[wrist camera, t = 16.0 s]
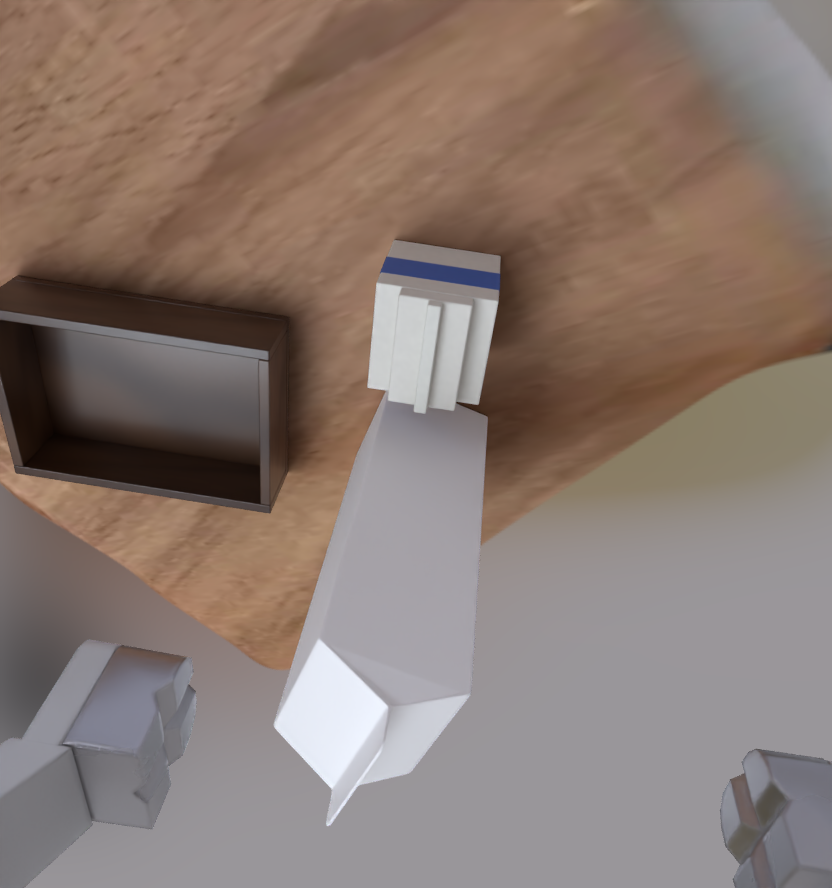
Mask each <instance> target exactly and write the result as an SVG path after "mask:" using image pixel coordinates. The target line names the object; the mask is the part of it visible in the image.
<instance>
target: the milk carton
mask: <svg viewBox="0 0 832 888" xmlns="http://www.w3.org/2000/svg"><path fill="white" fill-rule="evenodd" d="M500 262H501V256H498V255H491V254H485V253H478V252H472V251H465V250H458V249H452V248H445V247H439V246H432V245H425V244H419V243H412V242H406V241H399V240H394V241H393V243H392V246H391V248H390V251H389V253H388V256H387V257H386V259H385V262H384V264H383V267H382V269H381V272H380V276H379V278H378V281H377V284H376V295H375V306H374V317H373V329H372V340H371V351H370V363H369V374H368V385H367V387H368V388H373V389H379V390H386V391H388V401H393V402H399V403H405V404H412V405H414V409H413V411H414V412H417V413H423V414H425V413H426V411H427V407H431V408H437V409H444V410H450V411H454V410H455V407H456V402H462V403H469V404H475V405H478V404H479V401H480V396H481V391H482V386H483V380H484V375H485V370H486V365H487V360H488V355H489V349H490V344H491V339H492V334H493V329H494V324H495V318H496V313H497V308H498V303H499V292H500Z"/></svg>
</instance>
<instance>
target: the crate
mask: <svg viewBox="0 0 832 888" xmlns="http://www.w3.org/2000/svg"><path fill="white" fill-rule="evenodd" d="M288 396H289V317H285V316H279V315H272V314H266V313H259V312H252V311H246V310H239V309H232V308H226V307H219V306H212V305H206V304H199V303H192V302H186V301H179V300H172V299H166V298H159V297H153V296H146V295H139V294H133V293H126V292H119V291H113V290H106V289H99V288H93V287H86V286H79V285H73V284H66V283H59V282H53V281H46V280H40V279H33V278H26V277H20V276H16V277H14V278H13V279H12V280H10V281H8V282H7V283H6V284H4V285H3V286H1V287H0V414H1V418H2V421H3V425H4V429H5V433H6V437H7V441H8V445H9V448H10V452H11V456H12V460H13V464H14V468H15V472H16V473H17V474H24V475H30V476H36V477H43V478H49V479H55V480H62V481H68V482H74V483H81V484H87V485H93V486H100V487H106V488H112V489H119V490H125V491H131V492H138V493H144V494H150V495H157V496H163V497H169V498H176V499H182V500H188V501H195V502H201V503H207V504H214V505H220V506H226V507H232V508H239V509H245V510H251V511H258V512H264V513H271V511H272V508H273V506H274V504H275V501H276V499H277V497H278V494H279V492H280V489H281V487H282V485H283V482H284V480H285V478H286V475H287V473H288Z"/></svg>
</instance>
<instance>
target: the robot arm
mask: <svg viewBox="0 0 832 888" xmlns="http://www.w3.org/2000/svg"><path fill="white" fill-rule="evenodd" d="M193 672H194V671H193V665H192V659H191V658H190V657H184V656H179V655H174V654H168V653H163V652H157V651H151V650H146V649H141V648H135V647H129V646H124V645H120V644H114V643H108V642H102V641H95V640H89V639H88V640H86V641H85V642H84V643H83V644H82V645H81V646H80V647H79V648H78V649H77V650H76V652H75V653H74V655H73V657H72V658H71V660H70V662H69V663H68V665H67V666H66V668H65V670H64V671H63V673H62V674H61V676H60V678H59V679H58V681H57V682H56V684H55V686H54V687H53V689H52V690H51V692H50V694H49V695H48V697H47V698H46V700H45V702H44V703H43V705H42V707H41V708H40V710H39V711H38V713H37V715H36V716H35V718H34V719H33V721H32V723H31V724H30V726H29V728H28V729H27V731H26V732H25V734H24V736H23V737H22V738H15V737H11V738H9V739H8V740H6V741H5V742H3V743H2V744H0V888H24V887H25V886H27V885H28V884H29V883H30V882H31V881H32V880H33V879H34V878H35V877H36V876H37V875H39V874H40V873H41V872H42V871H43V870H44V869H45V868H46V867H47V866H48V865H50V864H51V863H52V862H53V861H54V860H55V859H56V858H57V857H58V856H59V855H60V854H62V853H63V852H64V851H65V850H66V849H67V848H68V847H69V846H70V845H71V844H73V843H74V842H75V841H76V840H77V839H78V838H79V837H80V836H81V835H82V834H83V833H85V831H87V830H88V829H89V828H90V827H91V826H92V824H93V823H92V821H96V822H103V823H110V824H118V825H124V826H132V827H139V828H146V829H153V827H154V824H155V822H156V819H157V817H158V815H159V812H160V810H161V807H162V805H163V802H164V800H165V798H166V795H167V793H168V790H169V788H170V785H171V781H170V774H169V767H168V766H170V765H171V764H172V763H173V762H175V761H176V760H177V759H179V758H180V757H181V756H182V755H183V753H184V751H185V748H186V746H187V743H188V741H189V738H190V735H191V731H192V727H193V723H194V719H195V713H196V691H195V690H194V689H193V688H192V687H191V686H190V685H189V682H190V679H191V677H192V674H193ZM742 765H743V768H744V774H742V775H739V776H737V777H735V778H733V779H730V781H729V783H728V785H727V787H726V788H725V790H724V792H723V796H722V803H721V809H720V815H721V828H722V832H723V838H724V842H725V846H726V848H727V849H728V850H729V851H730V853H731V854H732V855H733V856H734V857H735V859H736V860H737V861H738V862H739V864H740V866H739V868H738V870H737V872H736V874H735V876H734V878H733V882H734V886H735V888H832V761H826V760H824V759H822V758H815V757H808V756H801V755H795V754H788V753H781V752H774V751H767V750H761V749H754V750H752V751H749V752H748V753H747V755H746V756H745V758H744V759H743V761H742Z"/></svg>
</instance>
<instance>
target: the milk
mask: <svg viewBox="0 0 832 888" xmlns="http://www.w3.org/2000/svg"><path fill="white" fill-rule="evenodd" d="M413 409H414V405H412V404H405V403H399V402H393V401H388V391H386V392H385V394H384V396H383V398H382V400H381V403H380V405H379V407H378V409H377V411H376V413H375V416H374V418H373V420H372V422H371V424H370V426H369V429H368V431H367V433H366V435H365V437H364V439H363V442H362V444H361V446H360V448H359V450H358V452H357V455H356V458H355V462H354V465H353V468H352V471H351V475H350V478H349V481H348V484H347V488H346V491H345V494H344V497H343V501H342V504H341V507H340V510H339V514H338V517H337V520H336V523H335V526H334V530H333V533H332V536H331V539H330V543H329V546H328V549H327V552H326V556H325V559H324V562H323V565H322V569H321V572H320V575H319V578H318V582H317V585H316V588H315V591H314V595H313V598H312V601H311V604H310V608H309V611H308V614H307V617H306V621H305V624H304V627H303V630H302V634H301V637H300V640H299V643H298V647H297V650H296V653H295V656H294V660H293V663H292V666H291V669H290V673H289V676H288V679H287V682H286V686H285V689H284V692H283V695H282V698H281V702H280V705H279V708H278V712H277V715H276V718H275V721H274V727H275V728H276V730H277V731H278V732H279V733H280V734H281V735H282V736H283V737H284V738H285V740H287V742H288V743H289V744H290V745H291V746H292V747H293V748H294V749H295V750H296V751H297V752H298V753H299V754H300V755H301V757H302V758H303V759H304V760H305V761H306V762H307V763H308V764H309V765H310V766H311V767H312V768H313V769H314V771H315V772H316V773H317V774H318V775H319V776H320V777H321V778H322V779H323V780H324V781H325V782H326V783H327V784H328V785H329V787H330V788H331V789H332V796H331V800H330V805H329V810H328V815H327V820H326V825H327V826H330V825H331V823H332V822H333V821H334V819H335V818H336V816H337V815H338V814H339V812H340V811H341V809H342V808H343V807H344V805H345V804H346V802H347V801H348V799H349V798H350V797H351V795H352V794H353V792H354V791H355V789H356V788H357V786H358V785H362V784H366V783H371V782H375V781H379V780H384V779H388V778H392V777H396V776H401V775H405V774H408V773H410V772H411V771H412V770H413V769H414V767H415V766H416V765H417V763H418V762H419V761H420V760H421V758H422V757H423V756H424V754H425V753H426V752H427V750H428V749H429V748H430V747H431V745H432V744H433V743H434V742H435V740H436V739H437V738H438V736H439V735H440V734H441V733H442V731H443V730H444V728H445V727H446V726H447V725H448V724H449V722H450V721H451V720H452V718H453V717H454V716H455V714H456V713H457V712H458V711H459V709H460V708H461V707H462V705H463V704H464V703H465V702H466V700H467V699H468V698H469V696H470V695H471V691H472V676H473V659H474V641H475V625H476V608H477V592H478V575H479V559H480V542H481V525H482V508H483V491H484V475H485V458H486V441H487V424H488V417H487V416H485V415H483V414H480V413H478V412H475V411H473V410H471V409H468V408H466V407H463V406H461V405H459V404H456V407H455V410H454V411H450V410H444V409H437V408H431V407H427V411H426V413H425V414H423V413H417V412H414V411H413Z"/></svg>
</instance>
